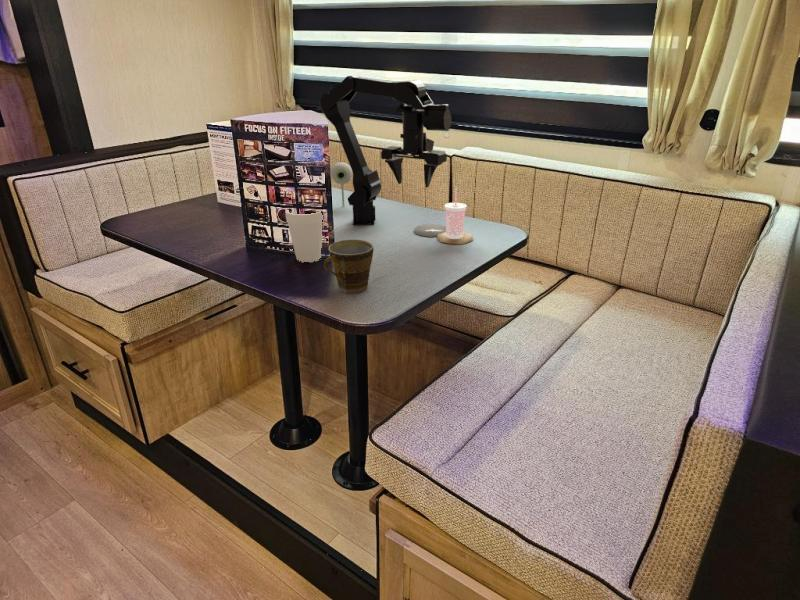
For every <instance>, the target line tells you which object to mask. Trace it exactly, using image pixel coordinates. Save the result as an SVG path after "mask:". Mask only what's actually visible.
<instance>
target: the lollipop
mask: <svg viewBox="0 0 800 600" xmlns="http://www.w3.org/2000/svg"><path fill="white" fill-rule="evenodd" d="M330 176H331V179H332V180H333V181H334V182H335V183H336V184H338V185H341V201H342V207H343V206H345V194H344V193H345V192H344V191H345V190H344V189H345V188H344V185H345V184H347V183H349V182H350V181H351V180H352V179H353V172H352V169H351V167H350V164H349V163H346V162H342V161H341V162H340V161H339V162H336V163H334V164H333V166H332V168H331V170H330Z"/></svg>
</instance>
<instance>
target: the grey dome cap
mask: <svg viewBox="0 0 800 600" xmlns="http://www.w3.org/2000/svg"><path fill="white" fill-rule="evenodd" d="M413 231H414V233H415V234H416V235H418V236H420V237H429V238H433V237H435V238H437V237H436V236H437V235H438V234H440V233H441V234H442V233H443V232H446V225H442V224H436V223H434V224H433V223H430V224H429V223H426V224H420V225H417V226H416V227H414V229H413Z"/></svg>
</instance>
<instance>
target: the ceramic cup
mask: <svg viewBox="0 0 800 600" xmlns="http://www.w3.org/2000/svg"><path fill="white" fill-rule="evenodd" d="M327 248H328V254H329V256H328V257H326V259H324V263H323V267H324V269H325V270H326V272H329V273H331V274H332V275H333V276H334V277H335V278H336V284H337V286H338V291H339V292H341V293H344V294H346V295H353V294H360V293H362V292H363V293H364V291H366V290H368V287H369V279H370V271H371V270H370V269H371V266H372V261H373V256H374V248H375V247H374V244H373V243H371V241H367V240H363V239H344V240H339V241H336V242H333V243H331V244H330V245H329V246H328V247H327ZM330 261H331V265H332V267H333V271H332V270H330V269H328V268H327V266H328V265H327V264H328V263H329V262H330Z"/></svg>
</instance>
